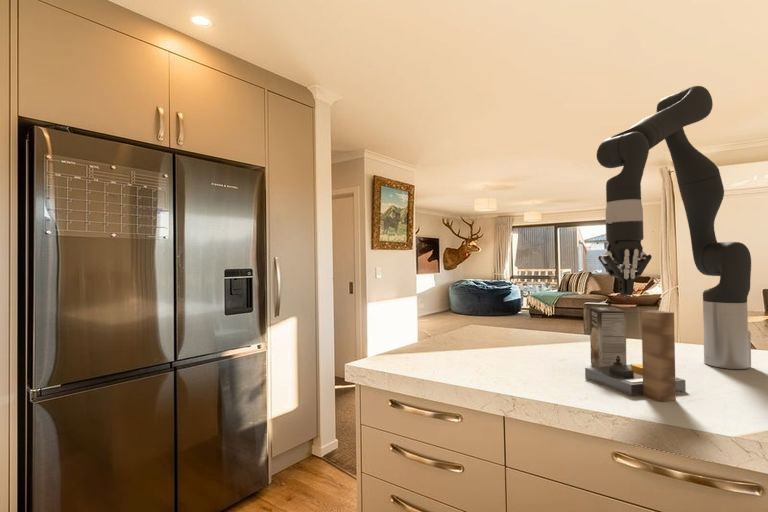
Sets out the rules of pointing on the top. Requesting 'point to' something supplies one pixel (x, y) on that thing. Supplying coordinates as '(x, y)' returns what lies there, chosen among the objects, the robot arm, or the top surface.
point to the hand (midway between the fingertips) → (626, 295)
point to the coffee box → (607, 336)
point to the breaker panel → (624, 378)
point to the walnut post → (658, 355)
